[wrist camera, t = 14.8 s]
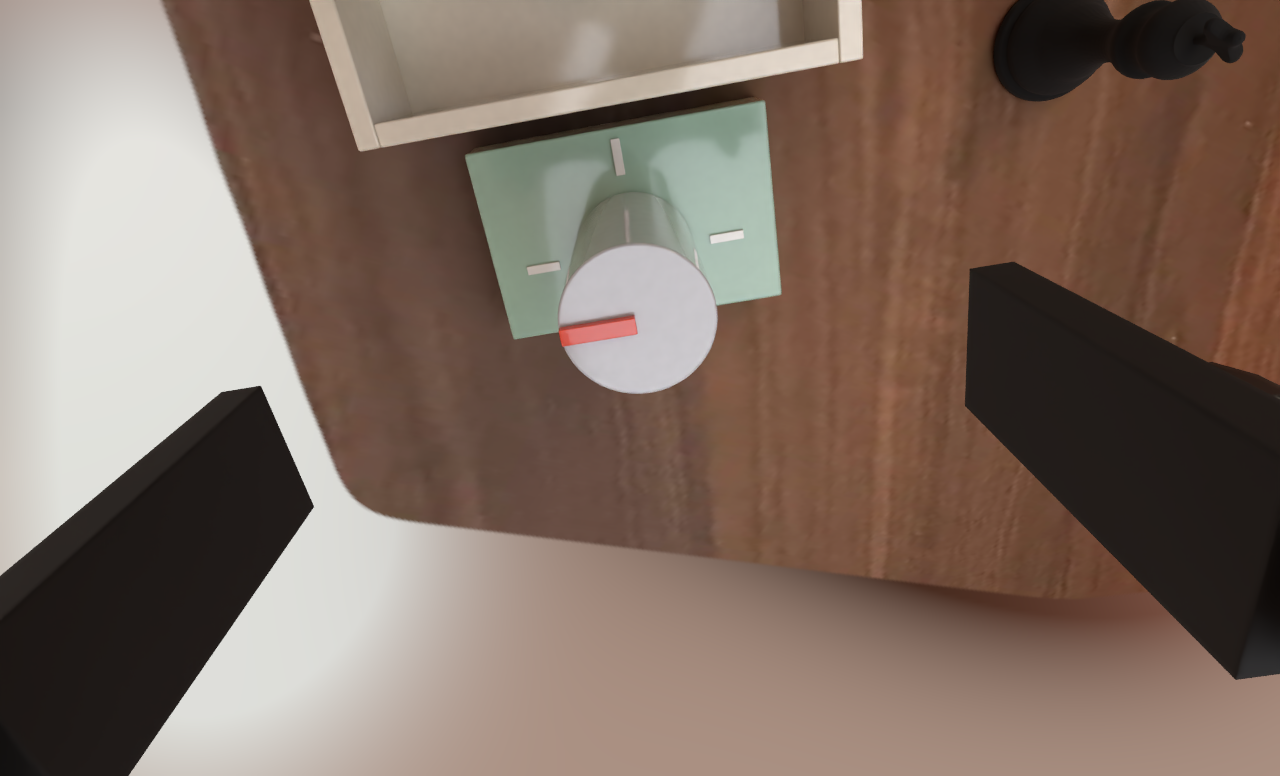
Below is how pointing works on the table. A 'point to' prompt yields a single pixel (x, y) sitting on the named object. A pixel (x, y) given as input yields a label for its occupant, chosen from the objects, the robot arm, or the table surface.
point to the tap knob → (636, 297)
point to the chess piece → (1106, 43)
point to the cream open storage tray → (558, 55)
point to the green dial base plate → (620, 163)
